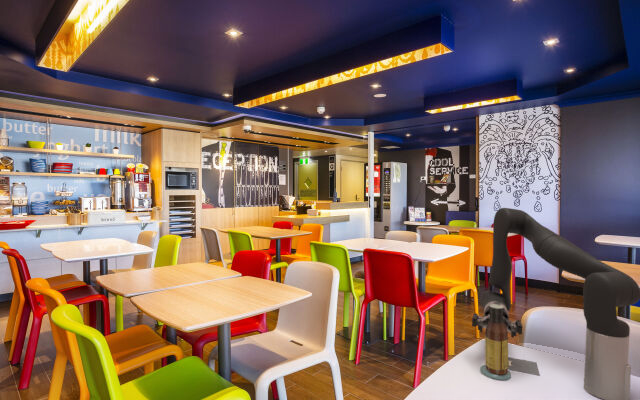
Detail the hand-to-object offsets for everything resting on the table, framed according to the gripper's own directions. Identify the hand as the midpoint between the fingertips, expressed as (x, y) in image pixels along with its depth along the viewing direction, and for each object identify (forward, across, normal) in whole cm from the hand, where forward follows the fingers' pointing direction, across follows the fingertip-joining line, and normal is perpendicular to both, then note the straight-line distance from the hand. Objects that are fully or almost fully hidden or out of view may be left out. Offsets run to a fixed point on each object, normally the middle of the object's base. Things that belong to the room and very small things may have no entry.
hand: (496, 331), depth 109 cm
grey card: (-9, +5, +13) cm, 16 cm away
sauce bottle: (0, 0, +12) cm, 12 cm away
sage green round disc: (0, 0, +13) cm, 13 cm away
